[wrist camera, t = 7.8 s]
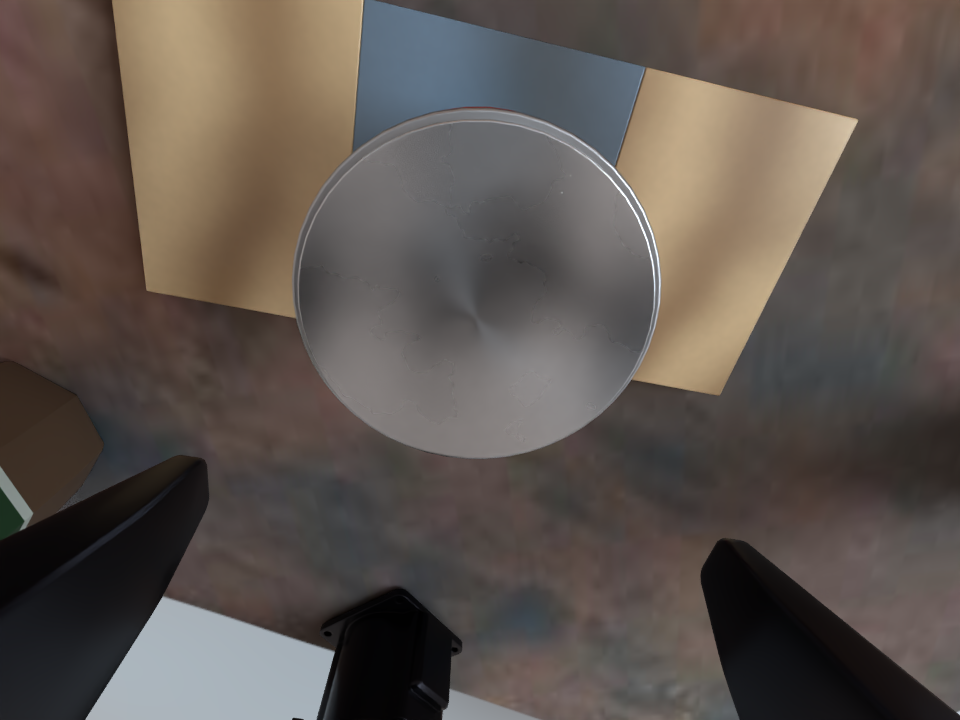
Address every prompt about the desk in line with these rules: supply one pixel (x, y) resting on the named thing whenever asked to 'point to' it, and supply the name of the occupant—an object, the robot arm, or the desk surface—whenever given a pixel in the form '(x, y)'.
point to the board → (435, 87)
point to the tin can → (476, 283)
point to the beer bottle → (40, 447)
